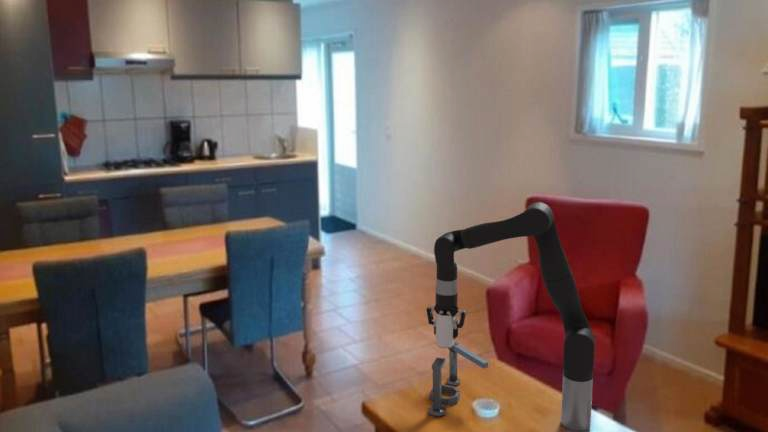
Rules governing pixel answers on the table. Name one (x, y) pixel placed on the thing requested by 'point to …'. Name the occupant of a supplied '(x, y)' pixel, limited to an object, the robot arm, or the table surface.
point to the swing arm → (469, 355)
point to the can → (444, 331)
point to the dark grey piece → (437, 390)
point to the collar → (449, 400)
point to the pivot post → (453, 369)
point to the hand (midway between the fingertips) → (445, 336)
